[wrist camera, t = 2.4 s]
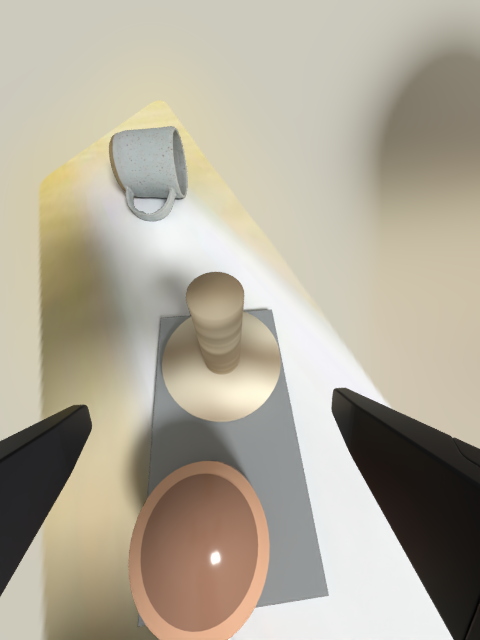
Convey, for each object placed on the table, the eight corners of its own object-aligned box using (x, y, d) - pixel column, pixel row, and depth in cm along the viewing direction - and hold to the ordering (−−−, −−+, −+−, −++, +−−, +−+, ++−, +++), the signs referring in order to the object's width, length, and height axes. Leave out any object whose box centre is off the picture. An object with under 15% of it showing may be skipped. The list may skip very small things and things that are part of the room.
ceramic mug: (135, 177, 36) (112, 114, 29) (189, 177, 36) (179, 115, 29) (120, 225, 31) (88, 162, 24) (183, 224, 31) (168, 162, 24)
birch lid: (289, 414, 19) (339, 379, 10) (162, 429, 18) (95, 406, 9) (267, 309, 24) (288, 225, 15) (167, 317, 23) (127, 233, 14)
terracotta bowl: (270, 595, 14) (281, 638, 11) (145, 614, 13) (117, 666, 10) (254, 454, 17) (259, 454, 14) (155, 466, 17) (136, 469, 14)
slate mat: (325, 590, 14) (328, 595, 14) (141, 620, 14) (137, 626, 13) (270, 312, 24) (271, 309, 24) (162, 320, 23) (160, 317, 23)
